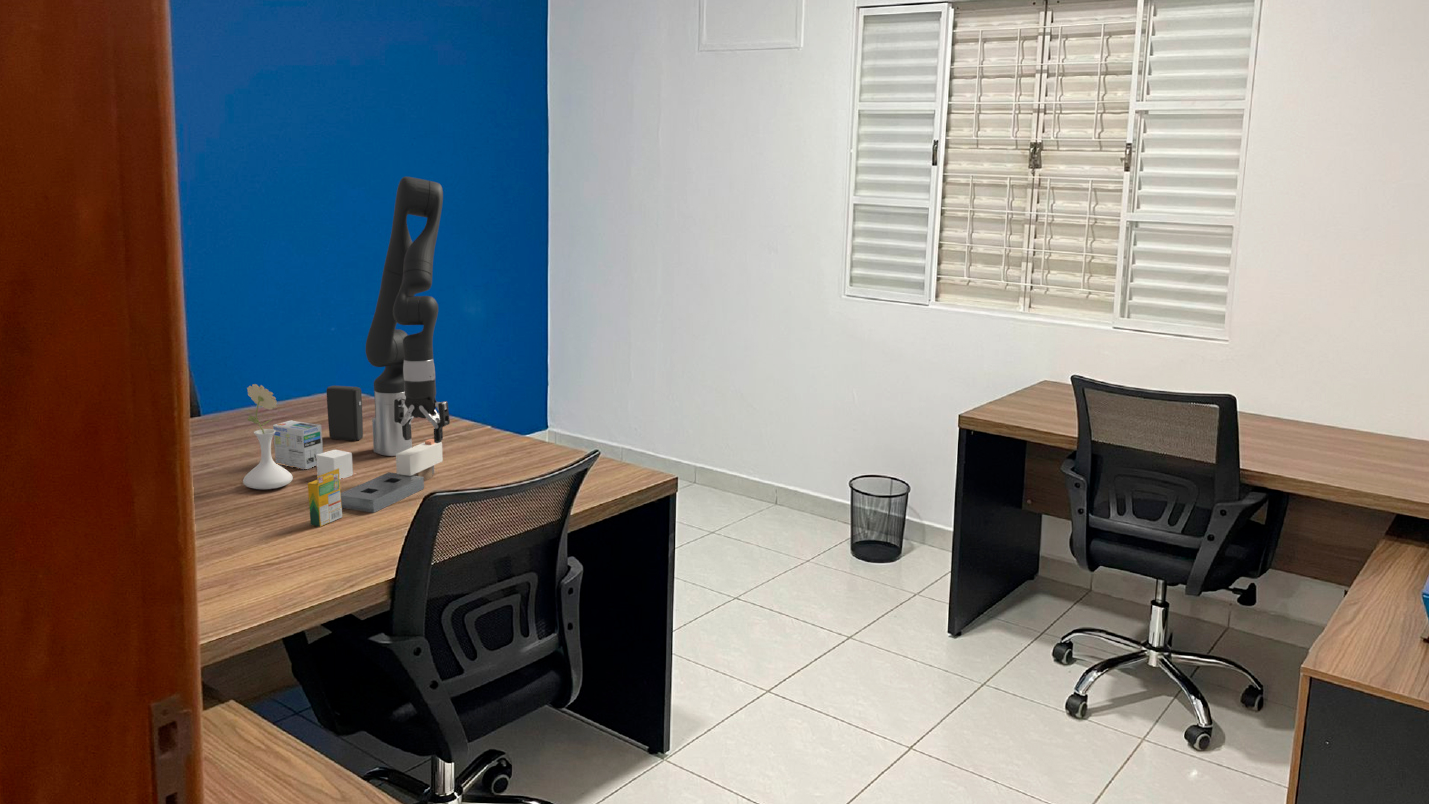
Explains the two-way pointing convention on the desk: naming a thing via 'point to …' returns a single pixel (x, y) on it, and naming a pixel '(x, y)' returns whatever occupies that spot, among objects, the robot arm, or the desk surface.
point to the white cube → (335, 463)
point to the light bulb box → (297, 443)
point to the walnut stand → (425, 473)
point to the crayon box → (325, 499)
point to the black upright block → (345, 412)
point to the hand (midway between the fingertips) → (423, 441)
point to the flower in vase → (265, 447)
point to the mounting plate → (381, 492)
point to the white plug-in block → (419, 458)
